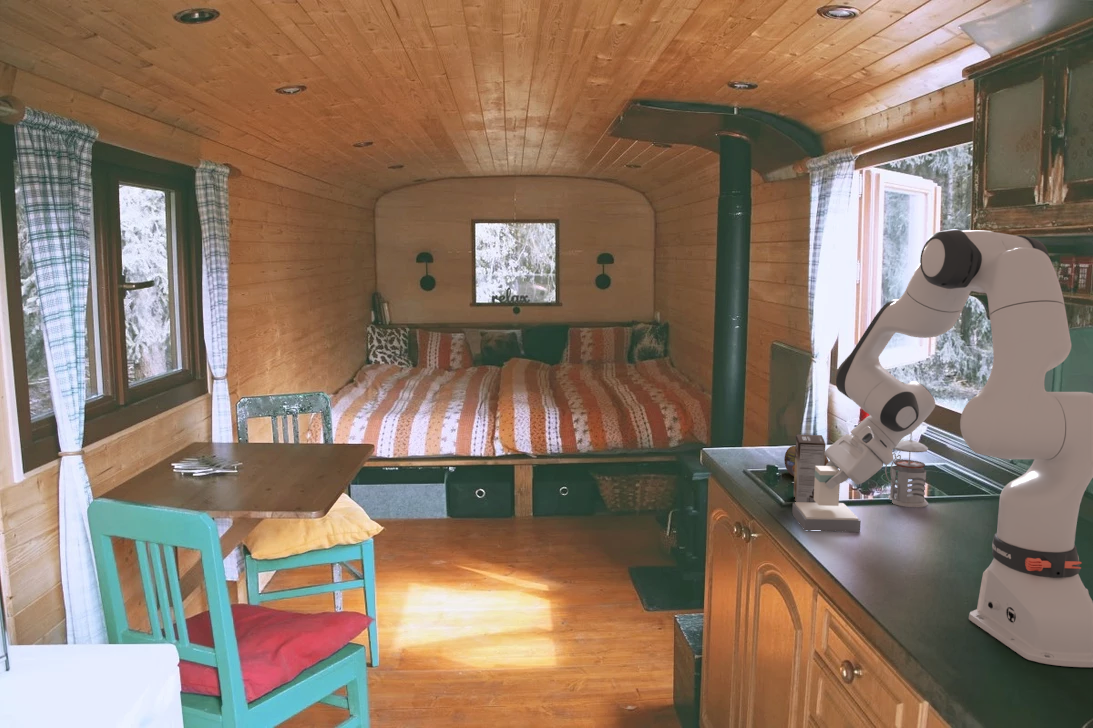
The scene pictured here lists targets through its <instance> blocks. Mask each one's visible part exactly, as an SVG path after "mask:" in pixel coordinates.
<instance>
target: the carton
mask: <svg viewBox="0 0 1093 728" xmlns="http://www.w3.org/2000/svg"><path fill="white" fill-rule="evenodd" d="M838 471H840V469H839V468H836V467H835V466H815V482H814V501H815V502H816V503H817V504H818V505H823V506H839V503H840V500H839V499H840V487H841V486H840V485H841V483H840V484H838V485H836V486H835V487H834V488H833V489H830V488H829V487H828V486H827V485H826V484H825V481H826V480H828V479H829V478H832V477H833V476H835V475H836V474H838V473H837V472H838Z"/></svg>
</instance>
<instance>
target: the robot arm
mask: <svg viewBox="0 0 1093 728" xmlns="http://www.w3.org/2000/svg"><path fill="white" fill-rule="evenodd" d="M1049 254H1050V253H1049V250H1048V249H1047V247H1046V246H1045V245H1044V243H1042V242H1041V241H1040V240H1038V239H1036V238H1033V237H1029V236H1026V235H1022V234H1019V235H1015V234H1014V235H1013V234H1008V233H1003V232H994V231H991V230H983V229H982V230H981V229H979V230H978V229H977V230H976V229H975V230H974V229H973V230H971V229H970V230H960V229H955V228H954V229H945V230H941V231H937V232H936V233H933V234H932V235H931V236H930V237H929V238H928V239H927V240H926V242H925V244H924V245H923V247H922V250H921V253H920V263H919V264H918V266H917V267H916V269H915V271H914V272H913V274H912V276H911V278H910V280H909V282H908V284H907V286H906V288H905V291H904V292H903V293H902V294H901V296H900V298H894V299H892V300H889V301H887V302H886V303H885V304H884V305H883V306H882V307H881V308H880V309H879V310H878V312H876V314H875V316H874V318H872V320H871V322H870V323H869V325H868V326H867V327H866V330H865V331H864V333H863V334H862V336H861V338H860V339H859V340H858V342H857V343H856V345H855V347H854V348H853V350H852V351H851V353H850V354H849V355H848V356H847V357H846V358H845V360H843V362H841V364H840V365H839V366H838V368H837V370H836V375H835V386H836V389H837V390H838V391H839V392H840V393H841V394H843V395H844V396H845V397H847V398H848V399H849V400H851V401H853V402H854V403H855V404H856V405H857V406H858V407H860V409H861V410H863V411H864V412H865V413H866V414H868V416H866V417H865V418H864V419H863V420H862V421H861V422H860V423H859V424H858V425H856V426H855V427H854V428H852V430H851V431H850V433H851V434H849V433H847V434H844V435H843V436H841V437H840V438H839V439H837V440H836V441H835V442H834V443H832V444H831V445H830V446H828V448H826V449H825V453H824V454H825V455H826V457H827V458H828V461H829V462H828V463H827V464H826V466H835V467H836V468H838V469H839V470H840V471H838V472H837V473H838V474H836V475H835V476H833V477H832V478H829V479H828V480H826V481H825V484H826V485H827V486H828V487H829V488H830V489H833V488H834V487H835V486H836V485H838V484H840V485H841V484H842V483H844V482H846V481H848V480H849V479H850V480H851V481H852V482H853V483H854V484H855V485H861V484H863V483H865V482H866V481H868V480H869V479H871V478H872V477H873V476H874V475H875V474H876V473H878V472H879V471H880V470H881V469H882V468H883V466H886V465H887V466H888V465H889V464H892V462H893V460H894V455H893V450H895V449H894V448H895V447H896V446H897V445H898V443H899V442H900V441H902V439H903V438H905V437H907V436H908V435H911V433H912V434H913V432H914V431H915V430H917V428H918V427H920V426H921V425H922V423H923V422H925V420H926V419H928V417H929V416H930V415H931V414H932V412H933V411H934V409H935V407H936V401H935V398H934V395H932V394H931V392H930V390H928V388H927V387H925V386H924V385H923V384H922V383H920V382H918V381H916V380H915V381H914V380H913V381H910V382H908V383H905V382H902V381H901V380H900V379H898V378H896V377H895V376H894V375H892V374H891V373H890V372H889V371H888V370H887V369H885V368H884V367H883V366H882V365H881V362H880V355H881V354H882V352H883V351H884V349H885V348H886V346H887V345H888V344H889V342H890V341H891V339H892V338H893V337H894V335H895V334H896V333H897V334H902V335H905V336H909V337H913V338H922V339H923V338H926V339H929V338H935V337H939V336H941V335H943V334H945V333H947V332H949V331H950V330H951V329H952V328H953V327H954V325H956V323H957V321H958V320H959V318H960V316H961V314H962V311H963V309H964V308H965V305H966V303H967V301H968V298H969V296H970V294H971V292H975V293H980V294H986V297H987V303H988V305H987V306H988V315H989V320H990V327H991V329H990V330H991V338H992V351H993V361H992V368H991V371H990V374H989V377H988V379H987V381H986V383H985V384H984V386H983V387H982V389H981V390H980V391H979V392H978V393H977V394H976V395H975V396H972V398H971V399H970V400H969V401H967V403H966V405H965V406H964V408H963V409H962V412H961V415H960V420H959V421H960V422H959V427H960V432H961V436H962V438H963V441H964V442H965V444H966V445H967V447H969V448H970V450H972V451H973V453H975V454H979V455H982V456H986V457H992V458H997V459H1003V460H1033V461H1032V464H1031V465H1030V467H1029V468H1027V470H1026V472H1024V473H1023V474H1022V475H1020V476H1019V477H1017V478H1015V479H1013V480H1011V481H1010V482H1008V483H1007V484H1005V486H1004V487H1003V489H1002V490H1001V492H1000V495H999V501H998V503H999V504H998V515H997V527H996V528H997V530H996V532H995V533H994V534H993V540H992V543H991V547H992V550H991V551H992V552H991V556H992V557H993V559H992V561H991V563H990V564H989V566H988V567H987V568H985V569H984V571H983V573H982V578H981V581H980V582H981V583H980V588H979V595H978V600H977V607H976V609H974V610H971V611H970V612H969V615H968V620H969V621H971V623H973V624H975V625H976V626H978V628H979V627H980V629H982V630H983V631H984V632H986V633H988V634H989V635H990V636H991V637H993V638H995V639H997V640H998V641H999V642H1001V643H1002V644H1003V645H1005V646H1007V647H1008V648H1010V649H1011V650H1012V651H1014V652H1016V653H1017V654H1018V655H1019V656H1021V657H1023V658H1024V659H1026V660H1028V661H1031V662H1036V663H1039V664H1045V665H1052V666H1061V667H1073V668H1093V600H1092V598H1091V596H1090V594H1089V593H1090V592H1089V589H1088V588H1086V587H1085V585H1084V582H1083V581H1082V579H1081V577H1080V575H1079V573H1080V572H1081V569H1082V567H1080V565H1081V564H1082V561H1080V558H1079V557H1080V556H1079V554H1078V548H1077V546H1076V545H1075V542H1076V532H1077V524H1078V523H1077V522H1078V519H1079V511H1080V505H1081V503H1082V499H1083V497H1084V494H1085V491H1086V490H1087V488H1088V486H1089V484H1090V483H1091V481H1092V479H1093V392H1088V391H1047V390H1046V389H1045V378H1046V374H1047V372H1049V371H1051V370H1053V369H1054V368H1057V367H1058V366H1059V365H1061V364H1062V363H1063V362H1065V360H1066V359H1067V358H1068V356H1069V354H1070V352H1071V350H1072V341H1071V340H1072V339H1071V336H1070V329H1069V322H1068V317H1067V311H1066V310H1067V309H1066V304H1065V299H1064V296H1063V291H1062V288H1061V284H1060V281H1059V277H1058V275H1057V273H1056V270H1055V269H1056V268H1055V267H1054V265H1053V263H1052V261H1051V259H1050V255H1049Z"/></svg>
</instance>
